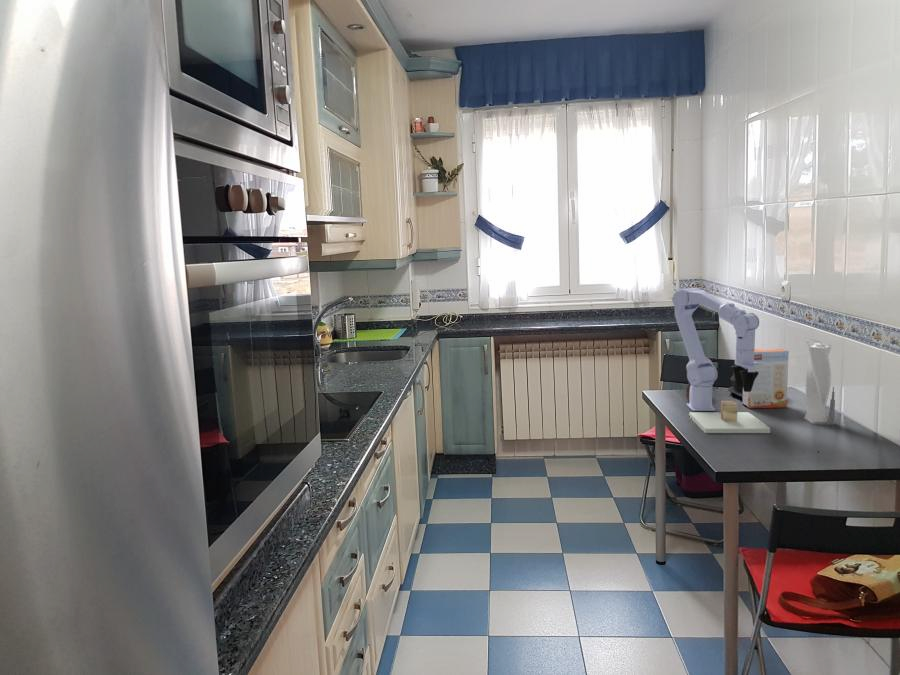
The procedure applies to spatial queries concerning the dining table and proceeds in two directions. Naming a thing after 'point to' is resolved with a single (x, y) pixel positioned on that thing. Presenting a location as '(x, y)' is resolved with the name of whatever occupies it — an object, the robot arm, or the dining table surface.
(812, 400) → the skyscraper
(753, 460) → the dining table surface
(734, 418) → the pine block
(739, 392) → the casserole
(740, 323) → the robot arm
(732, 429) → the board
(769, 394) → the cracker box
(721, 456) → the dining table surface
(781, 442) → the dining table surface
